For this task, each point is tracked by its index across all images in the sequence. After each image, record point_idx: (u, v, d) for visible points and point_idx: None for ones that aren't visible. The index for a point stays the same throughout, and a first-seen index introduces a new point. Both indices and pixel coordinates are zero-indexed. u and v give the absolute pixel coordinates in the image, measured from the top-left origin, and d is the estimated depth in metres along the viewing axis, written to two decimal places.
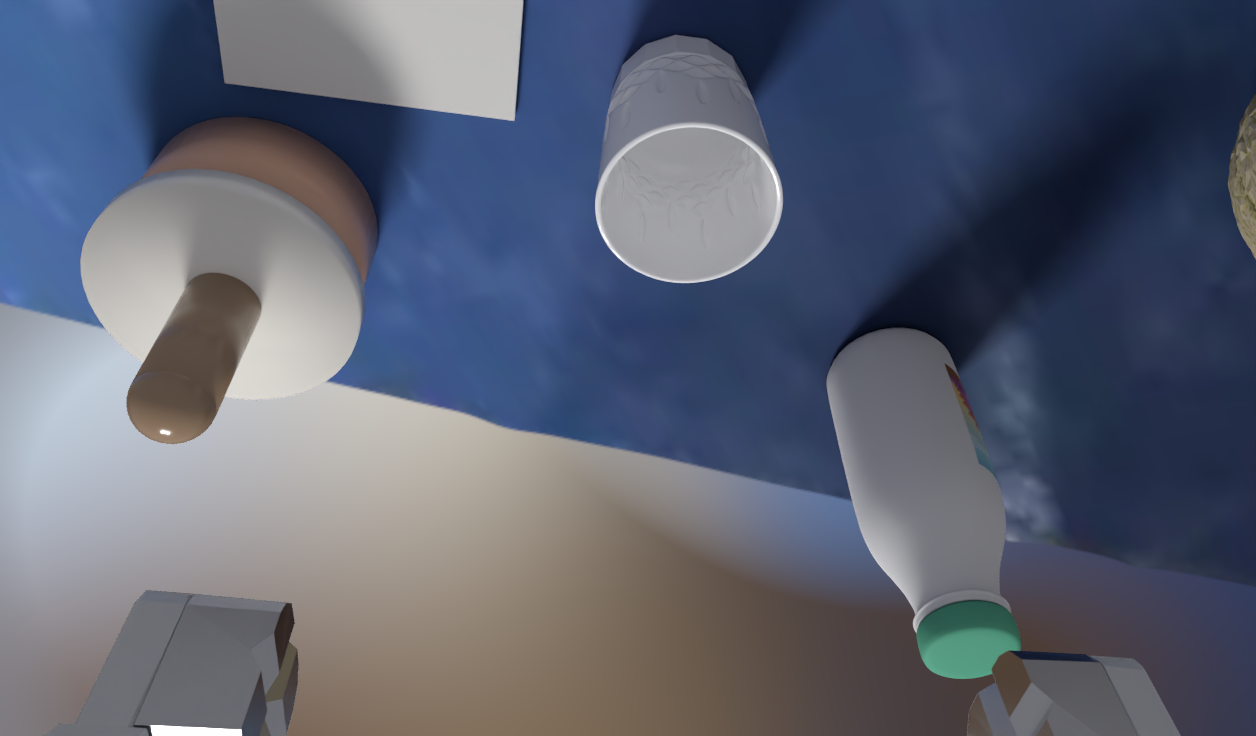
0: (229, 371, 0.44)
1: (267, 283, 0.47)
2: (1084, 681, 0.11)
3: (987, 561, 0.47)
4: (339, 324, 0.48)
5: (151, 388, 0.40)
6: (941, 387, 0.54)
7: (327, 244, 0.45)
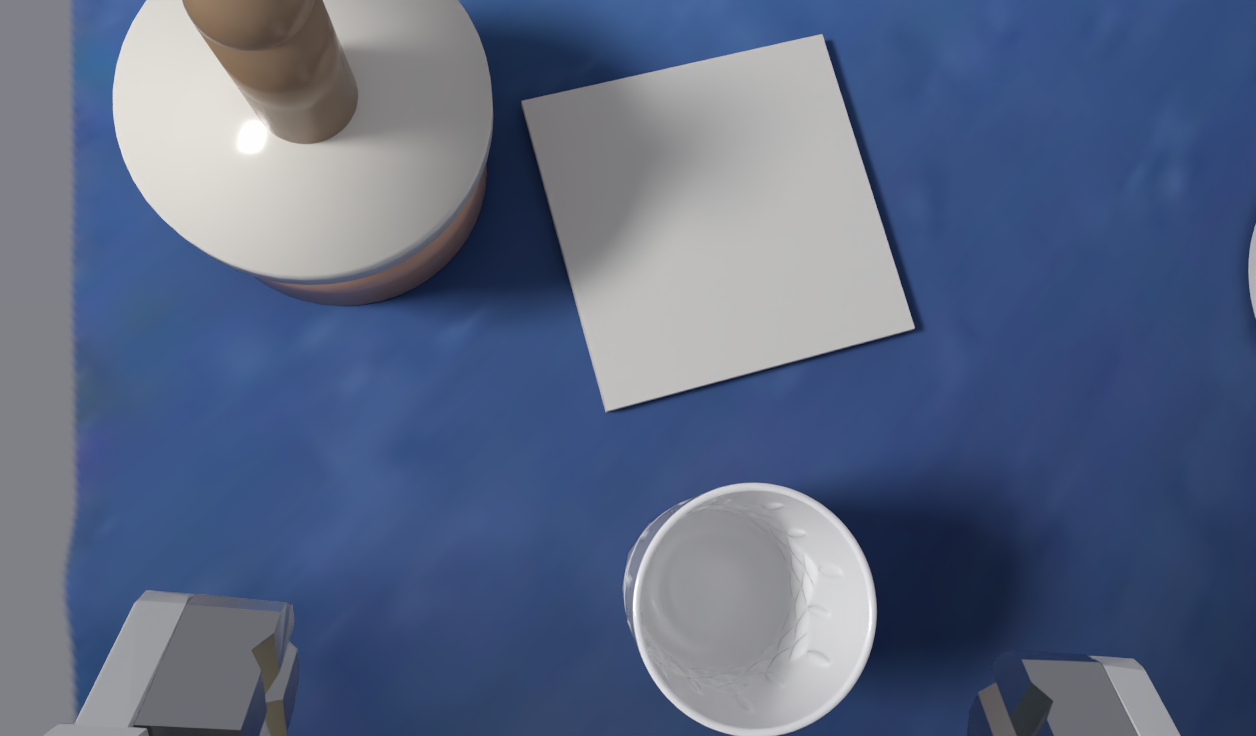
0: (289, 78, 0.29)
1: (362, 144, 0.34)
2: (1084, 681, 0.11)
3: None
4: (326, 246, 0.34)
5: None
6: None
7: (452, 208, 0.35)
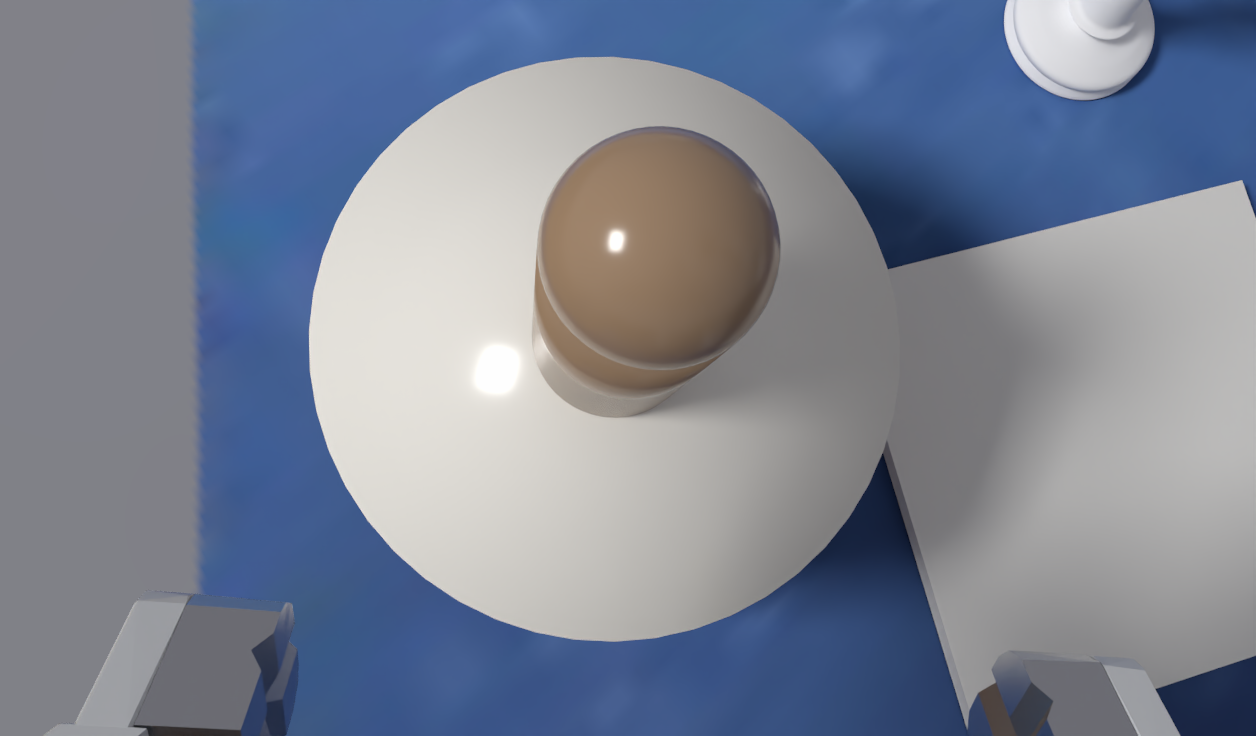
0: (684, 380, 0.16)
1: (706, 417, 0.21)
2: (1084, 681, 0.11)
3: None
4: (656, 591, 0.21)
5: (763, 187, 0.14)
6: None
7: (845, 516, 0.22)
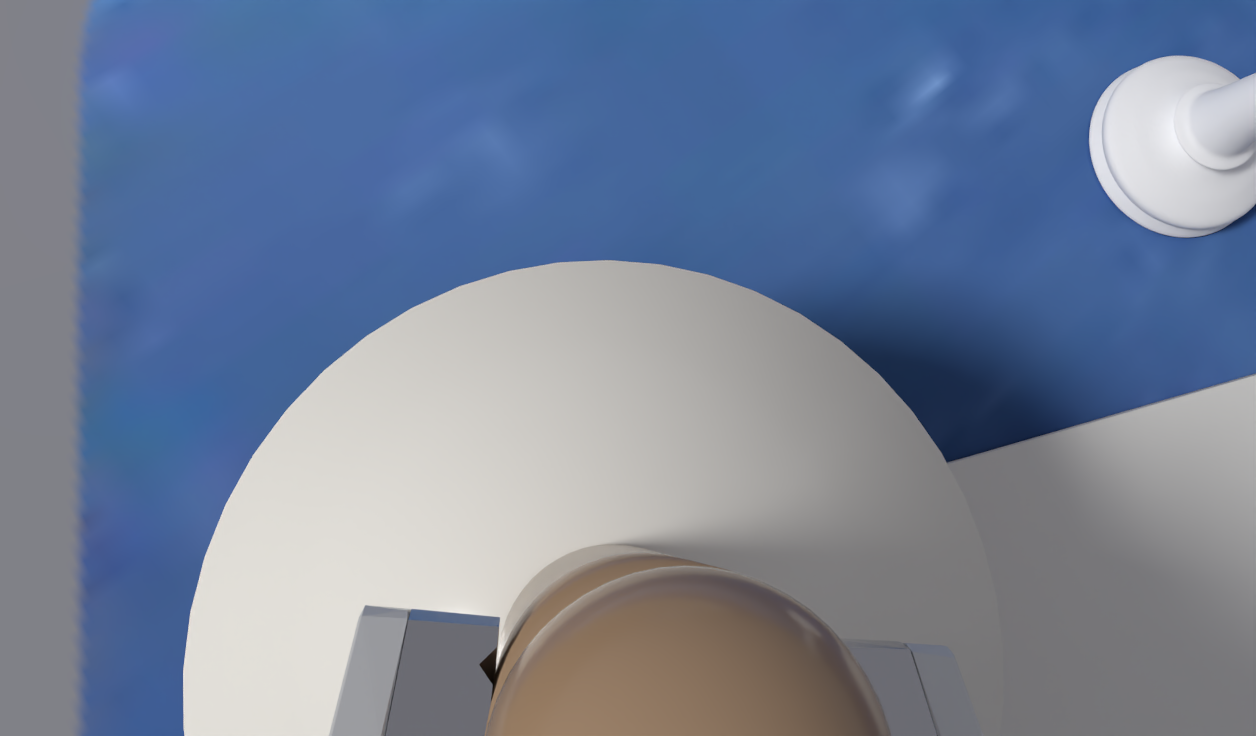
0: None
1: None
2: (889, 668, 0.10)
3: None
4: None
5: (872, 700, 0.08)
6: None
7: None
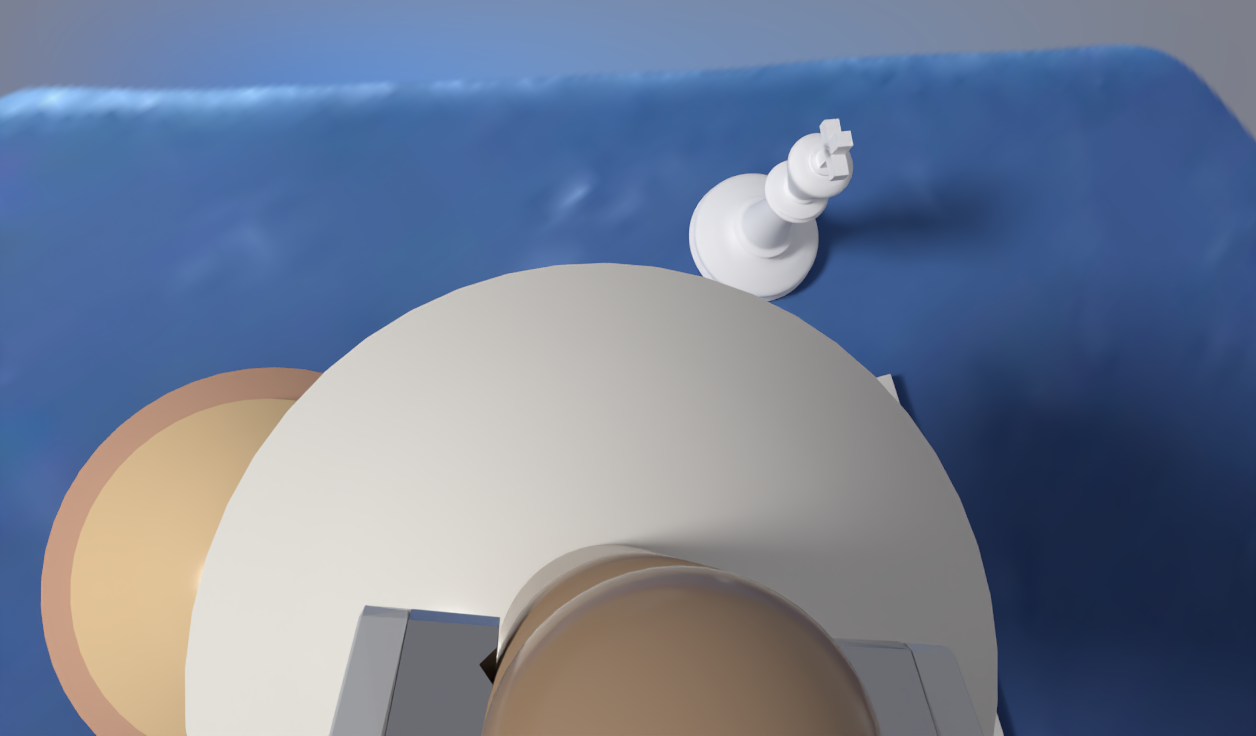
0: None
1: None
2: (889, 668, 0.10)
3: None
4: None
5: (861, 697, 0.08)
6: None
7: None
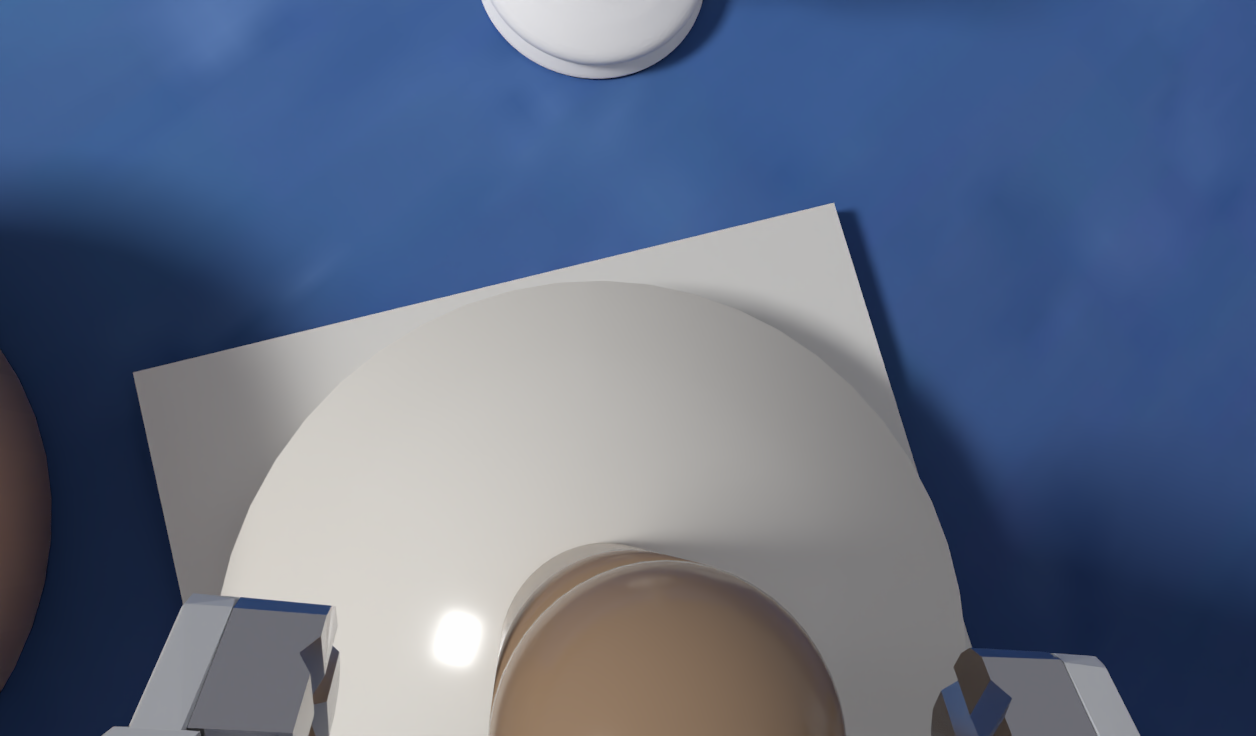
0: None
1: None
2: (1044, 678, 0.11)
3: None
4: None
5: (823, 674, 0.09)
6: None
7: None
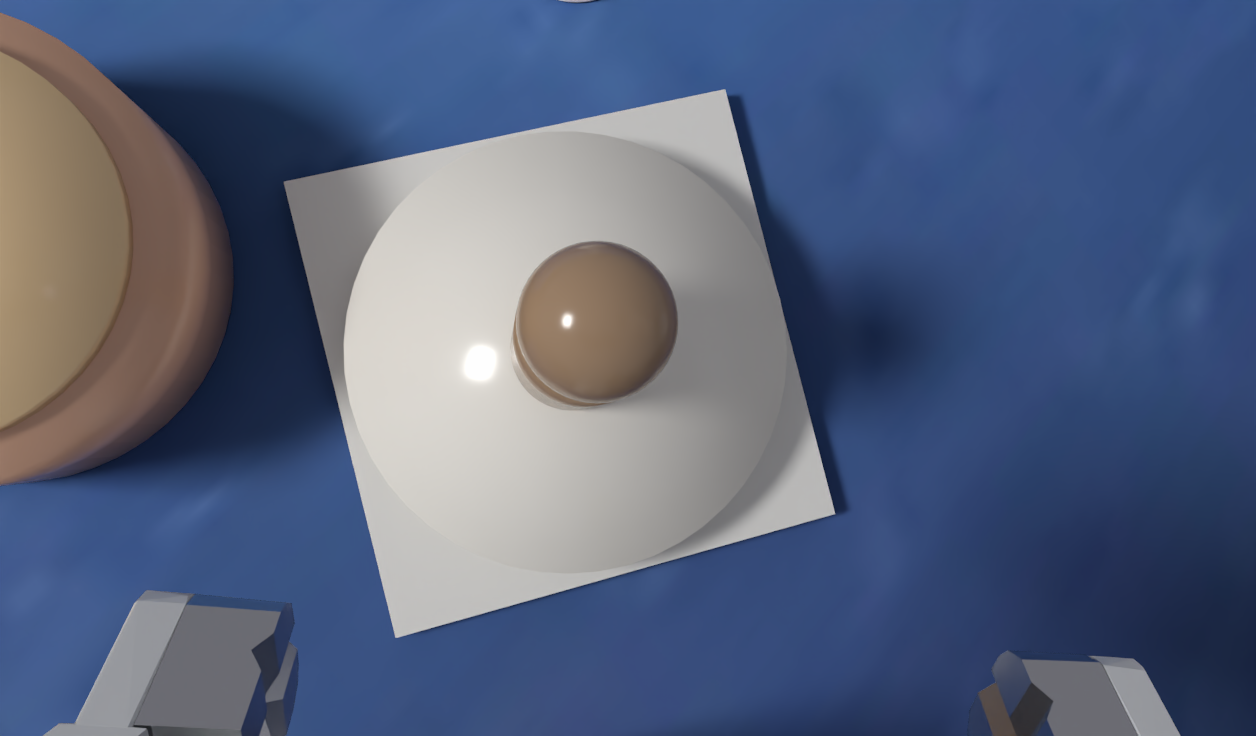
0: None
1: (639, 410, 0.29)
2: (1084, 681, 0.11)
3: None
4: (599, 538, 0.28)
5: (666, 285, 0.21)
6: None
7: (740, 484, 0.29)
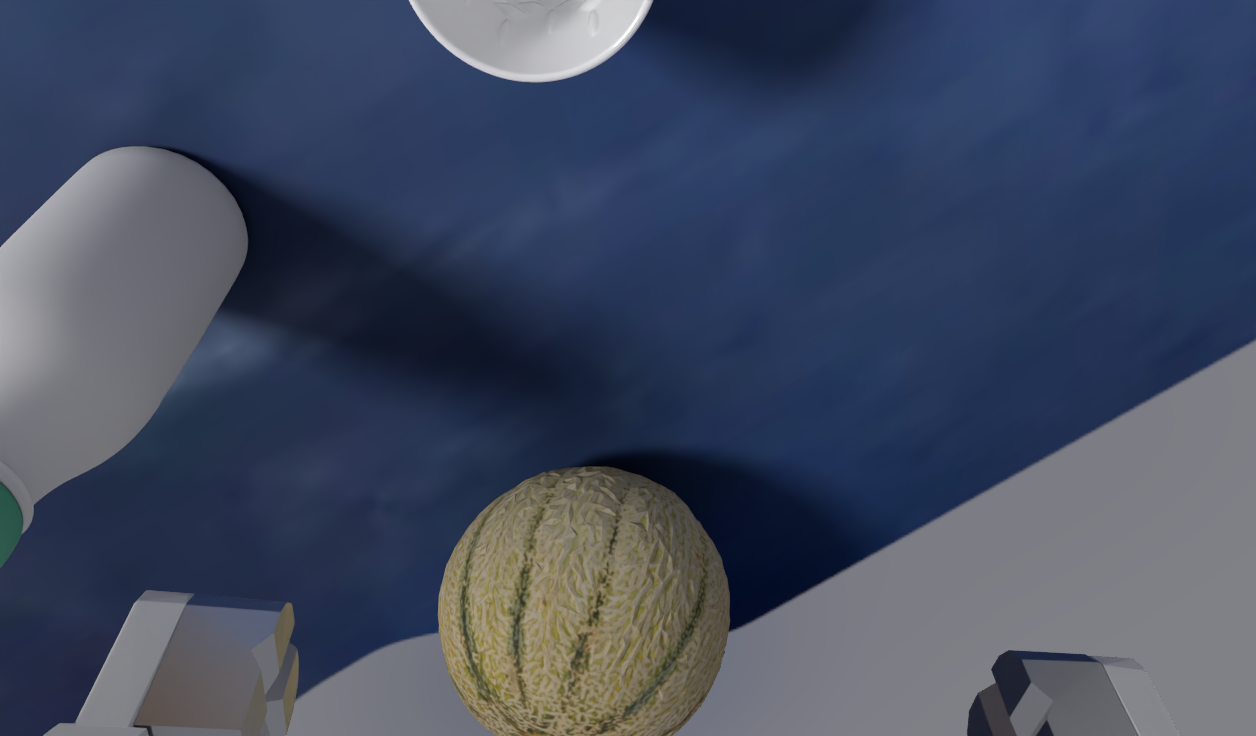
0: None
1: None
2: (1084, 681, 0.11)
3: (58, 480, 0.32)
4: None
5: None
6: (214, 306, 0.41)
7: None
